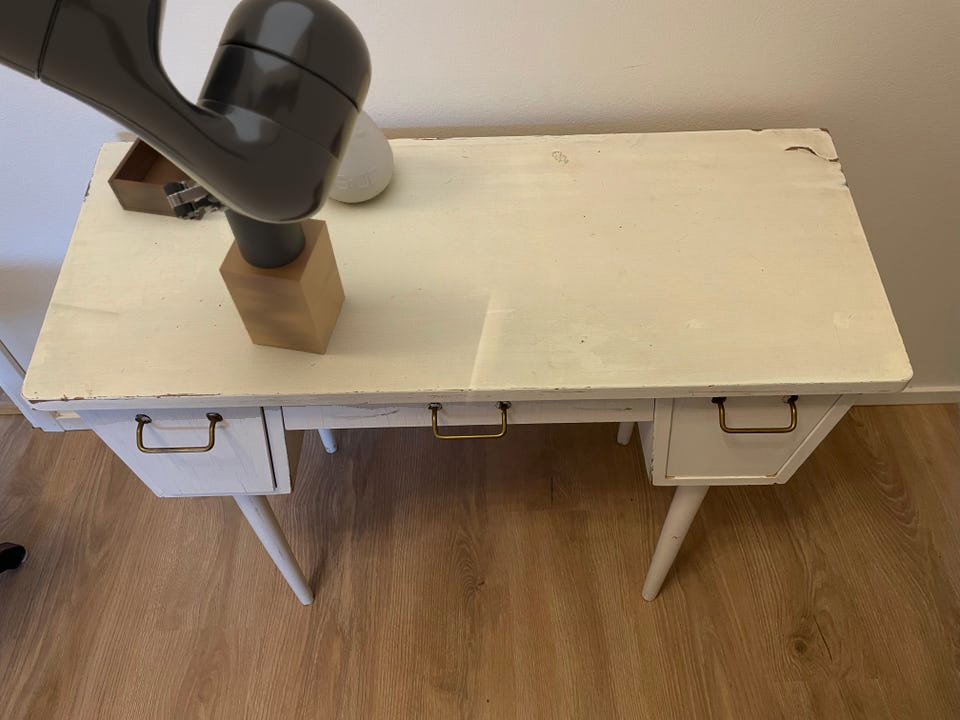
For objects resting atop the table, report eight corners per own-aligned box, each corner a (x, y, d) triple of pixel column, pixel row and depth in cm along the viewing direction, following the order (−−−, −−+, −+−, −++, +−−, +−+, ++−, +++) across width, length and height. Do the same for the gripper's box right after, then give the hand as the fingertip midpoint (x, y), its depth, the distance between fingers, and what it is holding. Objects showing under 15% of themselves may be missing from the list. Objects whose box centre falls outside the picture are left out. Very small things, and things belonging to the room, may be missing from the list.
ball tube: (229, 264, 68) (195, 185, 60) (253, 216, 72) (224, 136, 64) (294, 273, 68) (268, 195, 60) (315, 225, 71) (293, 144, 63)
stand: (252, 343, 78) (218, 269, 68) (277, 287, 82) (249, 210, 73) (323, 354, 77) (299, 281, 67) (345, 296, 82) (325, 220, 72)
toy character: (318, 218, 88) (296, 138, 79) (311, 161, 94) (291, 80, 84) (402, 206, 90) (391, 125, 80) (390, 150, 95) (379, 69, 85)
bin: (123, 209, 90) (106, 181, 86) (158, 155, 95) (144, 126, 91) (200, 220, 88) (187, 191, 85) (231, 164, 94) (221, 135, 90)
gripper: (335, 73, 51) (307, 119, 67) (131, 140, 47) (152, 172, 63) (376, 176, 53) (340, 197, 68) (183, 248, 49) (191, 254, 65)
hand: (250, 185), depth 66 cm, fingers closed on ball tube, 6 cm apart
